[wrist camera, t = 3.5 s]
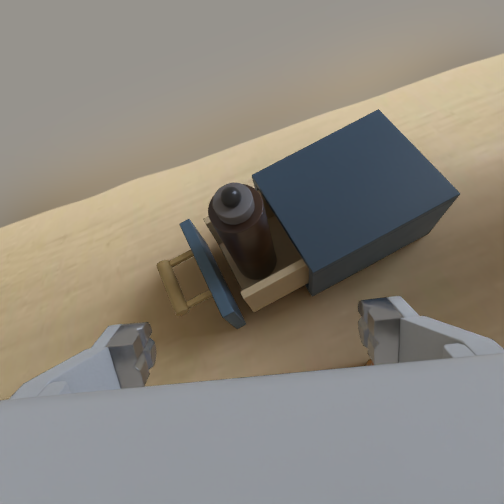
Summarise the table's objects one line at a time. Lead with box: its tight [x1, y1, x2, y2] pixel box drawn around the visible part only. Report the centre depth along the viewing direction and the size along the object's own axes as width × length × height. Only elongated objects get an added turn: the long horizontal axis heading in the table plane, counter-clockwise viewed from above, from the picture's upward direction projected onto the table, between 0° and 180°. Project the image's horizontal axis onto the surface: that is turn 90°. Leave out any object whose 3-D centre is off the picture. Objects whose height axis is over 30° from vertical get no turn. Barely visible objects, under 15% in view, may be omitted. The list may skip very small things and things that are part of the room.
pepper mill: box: [208, 183, 277, 280], centre depth 31 cm, size 5×5×15 cm
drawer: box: [157, 190, 309, 329], centre depth 36 cm, size 19×11×7 cm, turn 116°
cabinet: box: [252, 109, 460, 296], centre depth 36 cm, size 16×13×9 cm
